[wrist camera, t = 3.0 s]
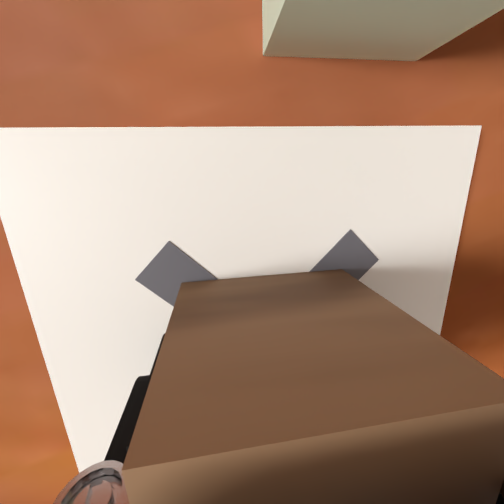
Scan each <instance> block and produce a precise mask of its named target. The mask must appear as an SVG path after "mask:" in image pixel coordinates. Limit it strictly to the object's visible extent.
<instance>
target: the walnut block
mask: <svg viewBox="0 0 504 504" xmlns="http://www.w3.org/2000/svg"><path fill="white" fill-rule="evenodd" d="M121 471H122V475H123V479H124V483H125V487H126V491H127V495H128V499H129V504H496V501H497V498H498V495H499V492H500V489H501V486H502V483H503V481H504V379H503V378H502V377H501V376H499V375H498V374H496V373H495V372H493V371H492V370H490V369H489V368H487V367H486V366H484V365H483V364H481V363H480V362H478V361H477V360H475V359H474V358H472V357H471V356H470V355H468V354H467V353H465V352H464V351H462V350H461V349H459V348H458V347H456V346H455V345H453V344H452V343H450V342H449V341H447V340H446V339H444V338H443V337H441V336H440V335H438V334H437V333H436V332H434V331H433V330H431V329H430V328H428V327H427V326H425V325H424V324H422V323H421V322H419V321H418V320H416V319H415V318H413V317H412V316H410V315H409V314H407V313H406V312H404V311H403V310H402V309H400V308H399V307H397V306H396V305H394V304H393V303H391V302H390V301H388V300H387V299H385V298H384V297H382V296H381V295H379V294H378V293H376V292H375V291H373V290H372V289H370V288H369V287H368V286H366V285H365V284H363V283H362V282H360V281H359V280H357V279H356V278H354V277H353V276H351V275H350V274H348V273H347V272H345V271H344V270H342V269H337V270H325V271H313V272H301V273H290V274H278V275H266V276H254V277H243V278H231V279H219V280H207V281H196V282H184V283H181V286H180V289H179V292H178V295H177V298H176V301H175V305H174V308H173V311H172V314H171V317H170V320H169V323H168V326H167V330H166V333H165V336H164V339H163V342H162V345H161V348H160V351H159V355H158V358H157V361H156V364H155V367H154V370H153V373H152V377H151V380H150V383H149V386H148V389H147V392H146V395H145V398H144V402H143V405H142V408H141V411H140V414H139V417H138V420H137V423H136V427H135V430H134V433H133V436H132V439H131V442H130V445H129V449H128V452H127V455H126V458H125V461H124V464H123V467H122V470H121Z"/></svg>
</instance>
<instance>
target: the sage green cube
mask: <svg viewBox="0 0 504 504" xmlns="http://www.w3.org/2000/svg"><path fill="white" fill-rule="evenodd" d="M502 9H504V0H262V21H263V56H278V57H307V58H337V59H366V60H395V61H417V60H419V59H420V58H422V57H424V56H425V55H427V54H429V53H430V52H432V51H434V50H435V49H437V48H439V47H440V46H442V45H444V44H445V43H447V42H449V41H450V40H452V39H454V38H455V37H457V36H459V35H460V34H462V33H464V32H465V31H467V30H469V29H470V28H472V27H474V26H475V25H477V24H479V23H480V22H482V21H484V20H485V19H487V18H489V17H490V16H492V15H494V14H495V13H497V12H499V11H500V10H502Z"/></svg>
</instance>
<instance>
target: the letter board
mask: <svg viewBox="0 0 504 504" xmlns="http://www.w3.org/2000/svg"><path fill="white" fill-rule="evenodd" d="M481 127H482V126H292V127H63V128H0V216H1V220H2V223H3V226H4V229H5V233H6V236H7V239H8V242H9V246H10V249H11V252H12V255H13V259H14V262H15V265H16V268H17V272H18V275H19V278H20V281H21V285H22V288H23V291H24V294H25V298H26V301H27V304H28V307H29V310H30V314H31V317H32V320H33V323H34V327H35V330H36V333H37V336H38V340H39V343H40V346H41V349H42V353H43V356H44V359H45V362H46V366H47V369H48V372H49V375H50V379H51V382H52V385H53V388H54V392H55V395H56V398H57V401H58V405H59V408H60V411H61V414H62V418H63V421H64V424H65V427H66V431H67V434H68V437H69V440H70V444H71V447H72V450H73V453H74V457H75V460H76V463H77V466H78V470H79V473H80V472H82V471H83V470H85V469H87V468H88V467H90V466H91V465H94V464H96V463H99V462H102V461H104V459H105V457H106V454H107V452H108V449H109V447H110V444H111V441H112V439H113V436H114V434H115V431H116V429H117V426H118V424H119V421H120V419H121V416H122V414H123V411H124V408H125V406H126V403H127V401H128V398H129V396H130V393H131V391H132V388H133V386H134V383H135V381H136V379H137V378H138V377H139V376H146V375H150V372H151V369H152V366H153V363H154V360H155V357H156V354H157V351H158V348H159V345H160V342H161V339H162V336H163V334H165V333H166V330H167V326H168V323H169V320H170V317H171V314H172V311H173V308H174V305H175V301H176V298H177V295H178V292H179V289H180V286H181V283H184V282H196V281H207V280H219V279H231V278H243V277H254V276H266V275H278V274H290V273H301V272H313V271H325V270H337V269H342V270H344V271H345V272H347V273H348V274H350V275H351V276H353V277H354V278H356V279H357V280H359V281H360V282H362V283H363V284H365V285H366V286H368V287H369V288H370V289H372V290H373V291H375V292H376V293H378V294H379V295H381V296H382V297H384V298H385V299H387V300H388V301H390V302H391V303H393V304H394V305H396V306H397V307H399V308H400V309H402V310H403V311H404V312H406V313H407V314H409V315H410V316H412V317H413V318H415V319H416V320H418V321H419V322H421V323H422V324H424V325H425V326H427V327H428V328H430V329H431V330H433V331H434V332H436V333H437V334H438V335H440V333H441V328H442V323H443V318H444V313H445V308H446V302H447V297H448V292H449V287H450V282H451V277H452V272H453V267H454V262H455V257H456V252H457V247H458V242H459V237H460V232H461V227H462V222H463V217H464V212H465V207H466V202H467V197H468V192H469V187H470V182H471V177H472V172H473V167H474V162H475V157H476V152H477V147H478V142H479V137H480V132H481Z"/></svg>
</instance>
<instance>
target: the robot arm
mask: <svg viewBox="0 0 504 504" xmlns="http://www.w3.org/2000/svg"><path fill="white" fill-rule="evenodd" d="M164 336H165V334H163V336H162V339H161V342H160V345H159V348H158V351H157V354H156V357H155V360H154V363H153V366H152V369H151V372H150V375H146V376H139V377H138V378H137V379H136V381H135V383H134V386H133V388H132V391H131V393H130V396H129V398H128V401H127V403H126V406H125V408H124V411H123V414H122V416H121V419H120V421H119V424H118V426H117V429H116V431H115V434H114V436H113V439H112V441H111V444H110V447H109V449H108V452H107V454H106V457H105V459H104V461H102V462H99V463H96V464H94V465H91V466H90V467H88V468H87V469H85V470H83V471H82V472H80V473H79V474H78V475H77V476H75V477H74V478H73V479H72V480H71V481H70V482H69V483H68V484H67V485H66V486H65V487H64V489H63V490H62V491H61V492H60V493H59V495H58V496H57V498H56V500H55V501H54V503H53V504H129V499H128V495H127V491H126V487H125V483H124V479H123V475H122V471H121V470H122V467H123V464H124V461H125V458H126V455H127V452H128V449H129V445H130V442H131V439H132V436H133V433H134V430H135V427H136V423H137V420H138V417H139V414H140V411H141V408H142V405H143V402H144V398H145V395H146V392H147V389H148V386H149V383H150V380H151V377H152V373H153V370H154V367H155V364H156V361H157V358H158V355H159V351H160V348H161V345H162V342H163V339H164ZM496 504H504V481H503V483H502V486H501V489H500V492H499V495H498V498H497V501H496Z"/></svg>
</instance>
